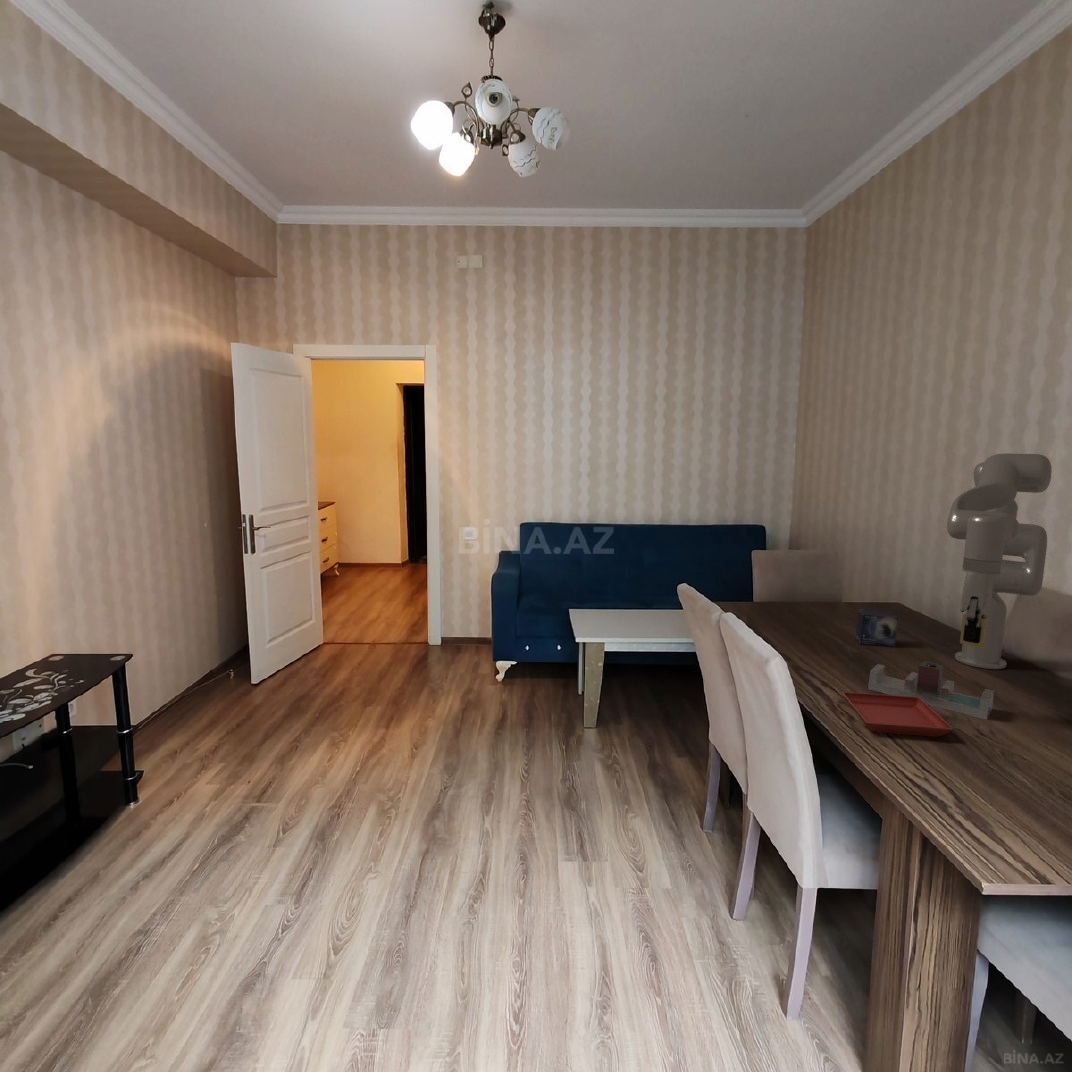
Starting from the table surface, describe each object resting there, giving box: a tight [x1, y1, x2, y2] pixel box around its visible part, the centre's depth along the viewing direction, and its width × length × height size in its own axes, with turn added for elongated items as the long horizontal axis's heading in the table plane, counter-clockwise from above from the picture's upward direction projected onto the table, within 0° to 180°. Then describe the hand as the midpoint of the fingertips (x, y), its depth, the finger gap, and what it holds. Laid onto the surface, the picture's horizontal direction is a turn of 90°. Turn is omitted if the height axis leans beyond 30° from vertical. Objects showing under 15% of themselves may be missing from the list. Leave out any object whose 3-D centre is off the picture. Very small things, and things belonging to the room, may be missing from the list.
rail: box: [867, 663, 995, 720], centre depth 158 cm, size 8×26×5 cm, turn 46°
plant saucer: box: [842, 691, 954, 738], centre depth 146 cm, size 18×18×3 cm
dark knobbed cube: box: [916, 660, 944, 696], centre depth 158 cm, size 4×4×7 cm
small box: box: [854, 608, 899, 648], centre depth 201 cm, size 11×6×10 cm, turn 76°
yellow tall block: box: [959, 611, 989, 648], centre depth 150 cm, size 4×4×7 cm
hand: (973, 638), depth 150 cm, fingers closed on yellow tall block, 4 cm apart
